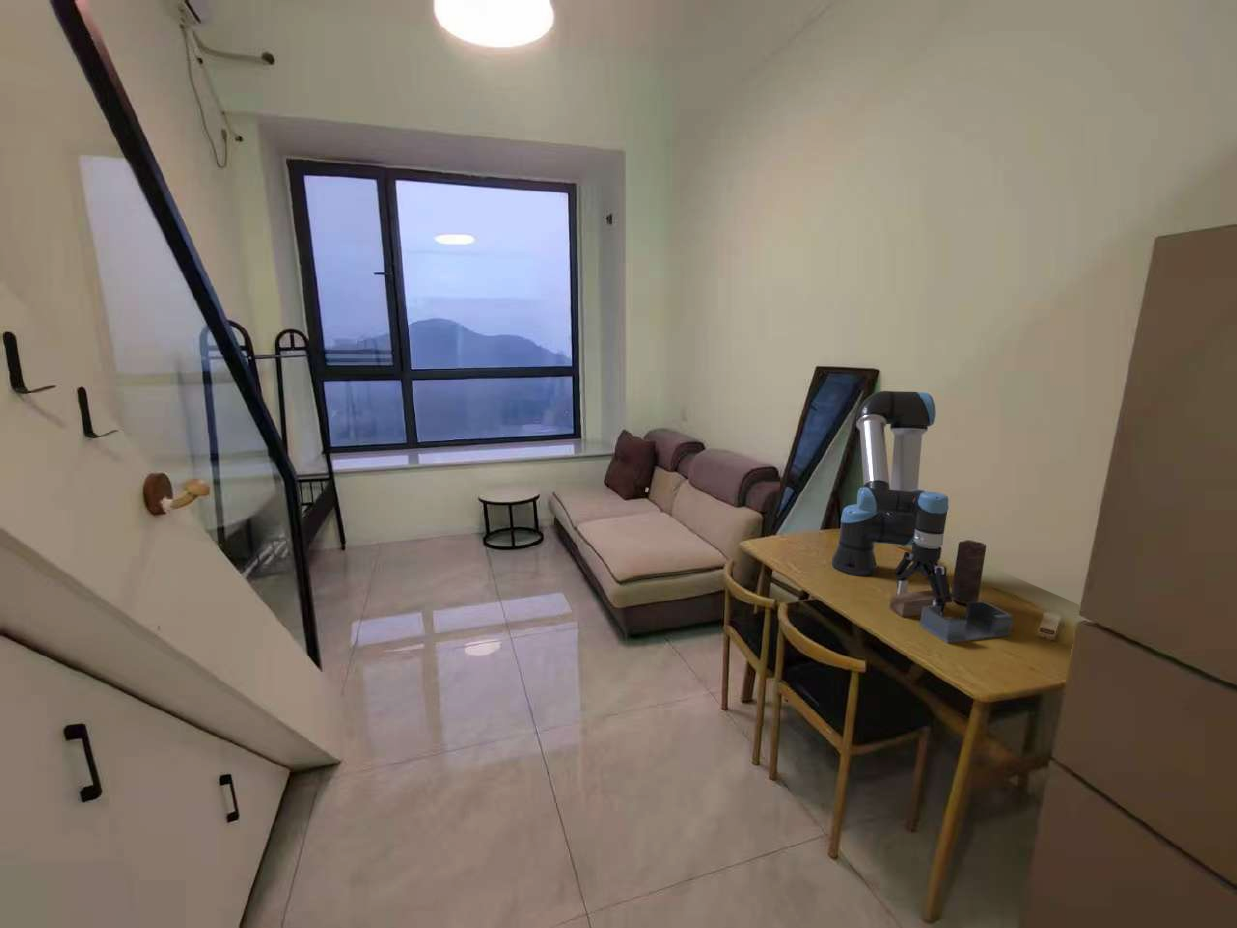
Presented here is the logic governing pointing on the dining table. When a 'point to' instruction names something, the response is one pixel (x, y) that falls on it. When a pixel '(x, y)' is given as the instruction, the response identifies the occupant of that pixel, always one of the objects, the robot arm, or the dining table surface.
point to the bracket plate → (967, 622)
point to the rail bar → (911, 602)
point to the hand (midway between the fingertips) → (917, 610)
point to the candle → (968, 571)
